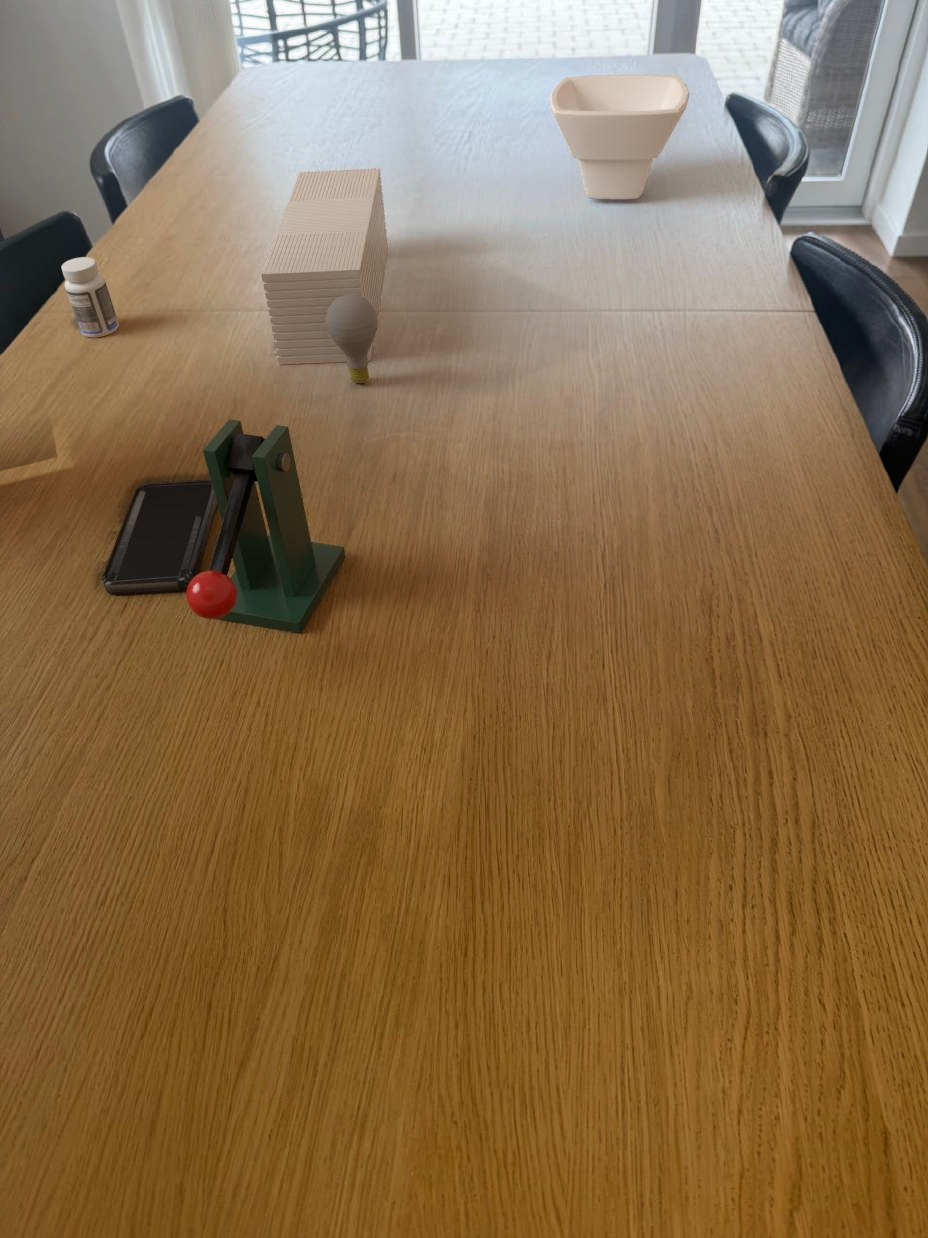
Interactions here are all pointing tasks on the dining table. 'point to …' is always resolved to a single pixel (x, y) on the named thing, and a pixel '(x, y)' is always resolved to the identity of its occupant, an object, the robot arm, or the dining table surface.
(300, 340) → the beige tall block
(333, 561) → the switch bracket
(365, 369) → the light bulb
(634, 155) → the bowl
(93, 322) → the pill bottle
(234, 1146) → the dining table surface
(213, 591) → the switch lever
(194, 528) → the phone
